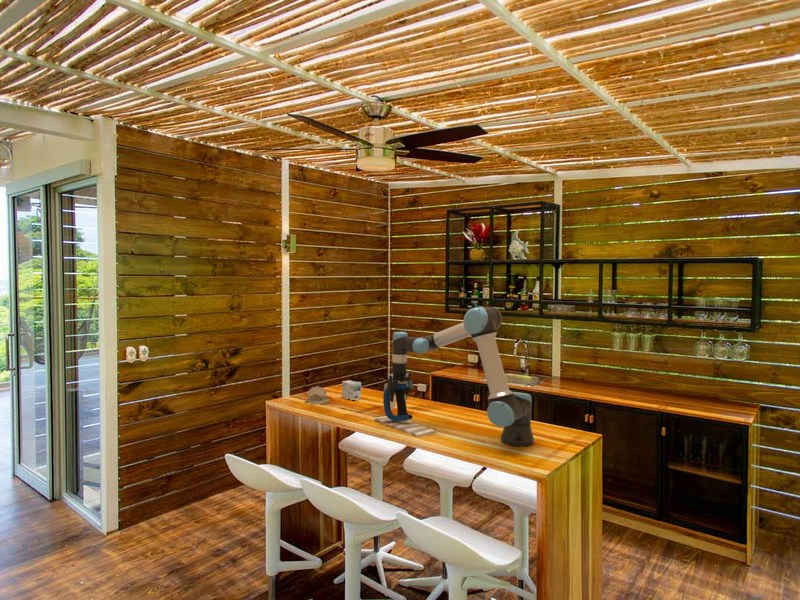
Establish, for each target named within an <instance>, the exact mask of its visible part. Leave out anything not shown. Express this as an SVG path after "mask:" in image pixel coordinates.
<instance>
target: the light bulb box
mask: <svg viewBox="0 0 800 600" xmlns="http://www.w3.org/2000/svg"><path fill="white" fill-rule="evenodd" d="M341 386H342V387H341V398H342V397H343V398H347V399H351V400H356V399H360V398H361V399H362V382H361V381H354V380H343V381H342V383H341ZM343 398H342V399H343ZM347 399H346V400H347ZM351 400H350V401H351ZM356 401H357V400H356Z"/></svg>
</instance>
